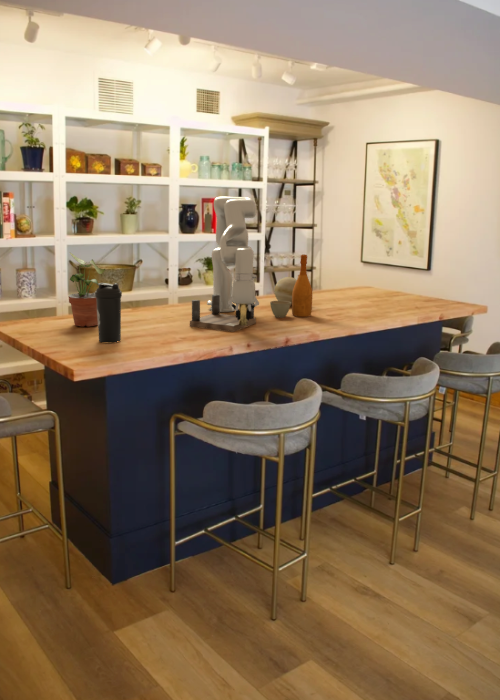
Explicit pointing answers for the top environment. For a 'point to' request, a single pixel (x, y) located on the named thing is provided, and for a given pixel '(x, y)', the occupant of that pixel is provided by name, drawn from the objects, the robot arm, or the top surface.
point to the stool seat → (217, 317)
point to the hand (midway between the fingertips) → (243, 319)
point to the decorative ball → (285, 289)
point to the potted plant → (84, 298)
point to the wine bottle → (302, 292)
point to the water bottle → (109, 312)
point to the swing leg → (243, 314)
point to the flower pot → (280, 308)
